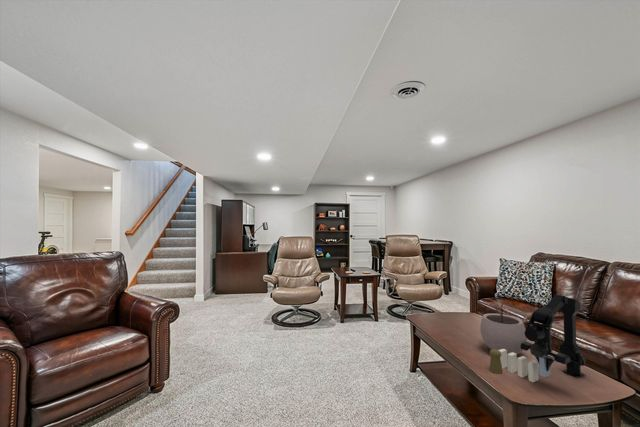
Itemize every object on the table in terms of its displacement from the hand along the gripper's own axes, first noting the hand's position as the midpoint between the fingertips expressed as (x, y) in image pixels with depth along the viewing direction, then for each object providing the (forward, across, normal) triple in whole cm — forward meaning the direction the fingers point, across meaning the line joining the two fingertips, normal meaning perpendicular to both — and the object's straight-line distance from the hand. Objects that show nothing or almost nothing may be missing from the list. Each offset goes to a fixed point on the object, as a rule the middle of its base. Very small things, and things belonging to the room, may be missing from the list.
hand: (544, 369), depth 135 cm
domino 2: (+7, -15, 0) cm, 17 cm away
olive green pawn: (+8, -19, -8) cm, 22 cm away
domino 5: (+2, 0, 0) cm, 2 cm away
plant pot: (+8, -30, +18) cm, 36 cm away
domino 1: (+7, -20, 0) cm, 21 cm away
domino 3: (+7, -10, 0) cm, 12 cm away
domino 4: (+7, -5, 0) cm, 9 cm away
